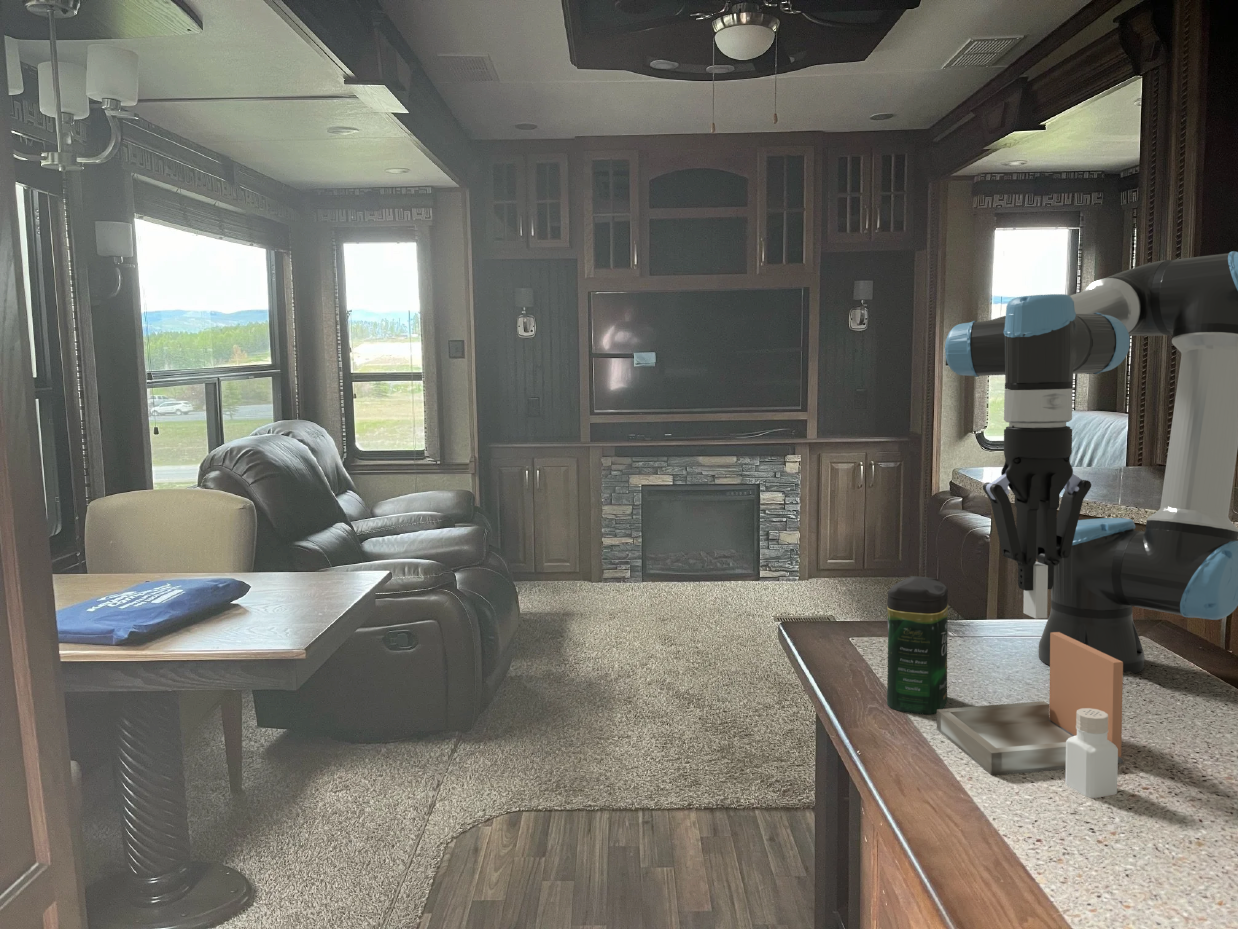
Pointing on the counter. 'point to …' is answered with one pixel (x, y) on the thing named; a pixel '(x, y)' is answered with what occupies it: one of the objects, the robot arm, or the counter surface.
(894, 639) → the coffee jar
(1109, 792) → the pepper shaker
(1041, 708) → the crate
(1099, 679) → the panel
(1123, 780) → the counter surface
